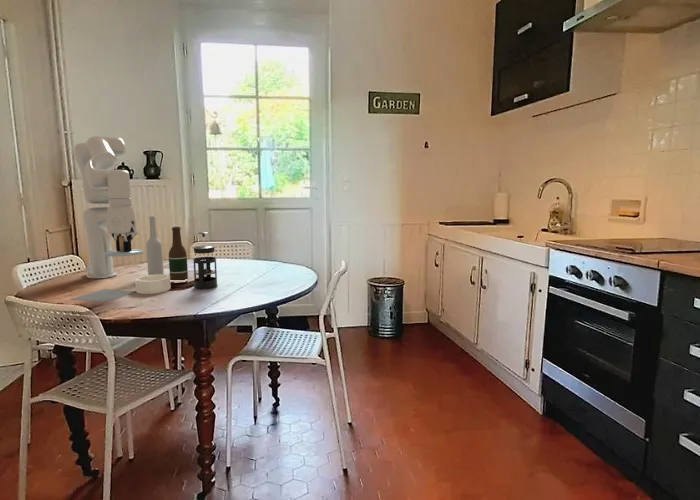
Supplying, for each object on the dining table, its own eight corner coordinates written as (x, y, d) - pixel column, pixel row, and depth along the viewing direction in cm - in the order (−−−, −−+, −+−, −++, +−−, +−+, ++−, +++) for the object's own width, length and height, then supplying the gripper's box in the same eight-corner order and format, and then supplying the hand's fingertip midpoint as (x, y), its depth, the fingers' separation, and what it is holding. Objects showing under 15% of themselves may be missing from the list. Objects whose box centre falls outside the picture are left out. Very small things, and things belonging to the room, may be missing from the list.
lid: (95, 255, 169) (93, 237, 168) (123, 250, 182) (121, 233, 181) (125, 257, 165) (123, 238, 164) (151, 251, 178) (150, 234, 177)
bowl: (129, 294, 176) (128, 280, 175) (150, 286, 188) (149, 273, 187) (156, 296, 173) (155, 282, 172) (176, 288, 185) (175, 275, 184)
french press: (198, 283, 194) (196, 230, 190) (220, 283, 194) (218, 230, 190) (189, 290, 182) (186, 233, 178) (213, 290, 182) (210, 233, 179)
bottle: (145, 278, 204) (140, 216, 199) (156, 275, 210) (152, 215, 206) (156, 279, 201) (152, 217, 197) (167, 276, 208) (163, 215, 203)
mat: (70, 300, 167) (70, 298, 167) (104, 290, 182) (104, 288, 182) (106, 303, 163) (106, 302, 162) (137, 293, 178) (137, 291, 178)
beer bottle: (191, 279, 201) (188, 226, 198) (183, 283, 194) (180, 228, 190) (175, 279, 202) (171, 226, 198) (166, 283, 195) (162, 227, 191)
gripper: (95, 203, 169) (99, 251, 172) (130, 204, 164) (134, 253, 167) (111, 202, 176) (114, 248, 179) (145, 203, 172) (148, 250, 174)
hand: (124, 250), depth 173 cm, fingers closed on lid, 2 cm apart
